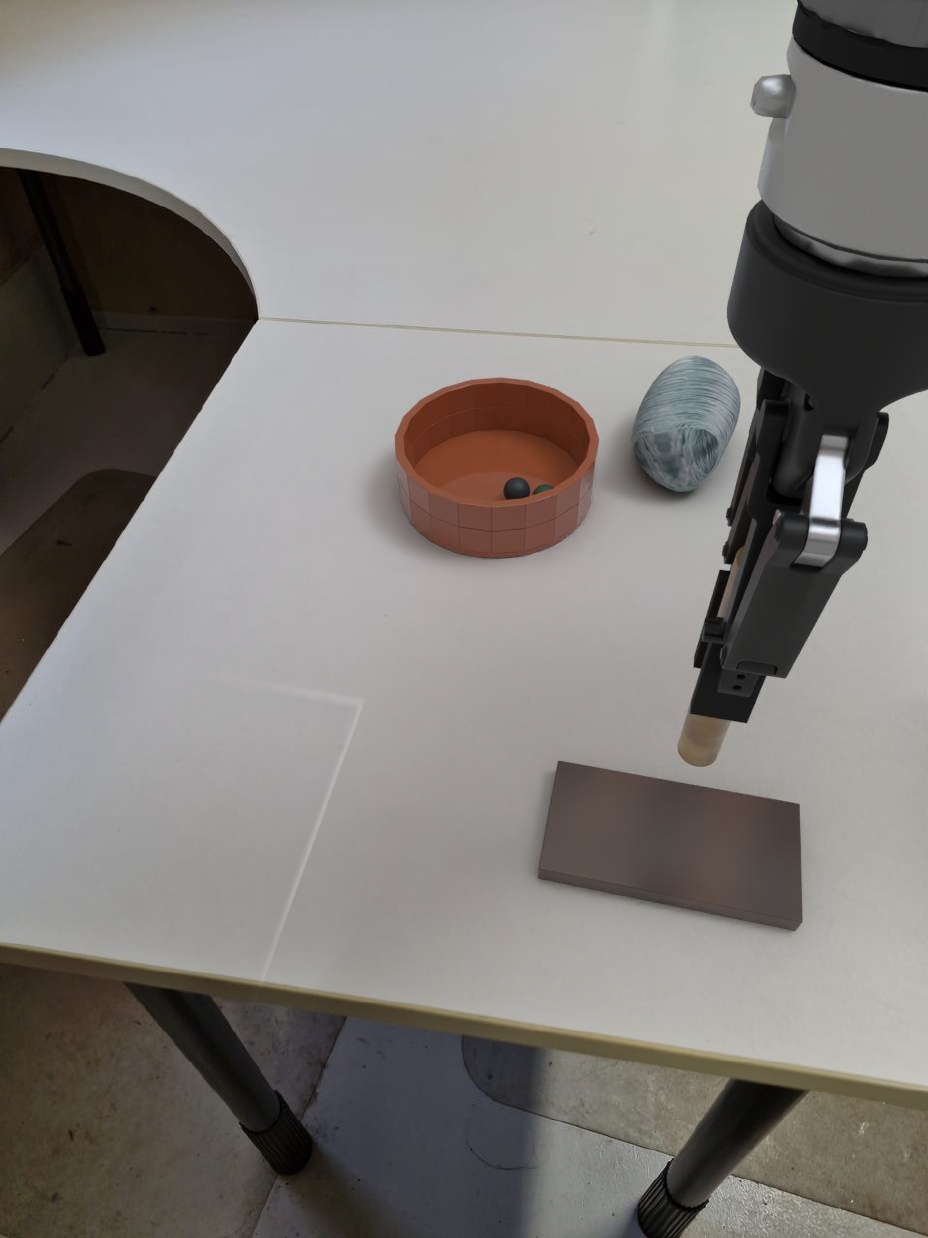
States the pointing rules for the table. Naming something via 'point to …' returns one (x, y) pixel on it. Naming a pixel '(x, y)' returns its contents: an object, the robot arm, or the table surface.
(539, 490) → the bead
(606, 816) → the brown board
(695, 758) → the stick
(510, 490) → the bead
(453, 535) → the bowl
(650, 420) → the blue yarn skein
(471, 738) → the table surface
